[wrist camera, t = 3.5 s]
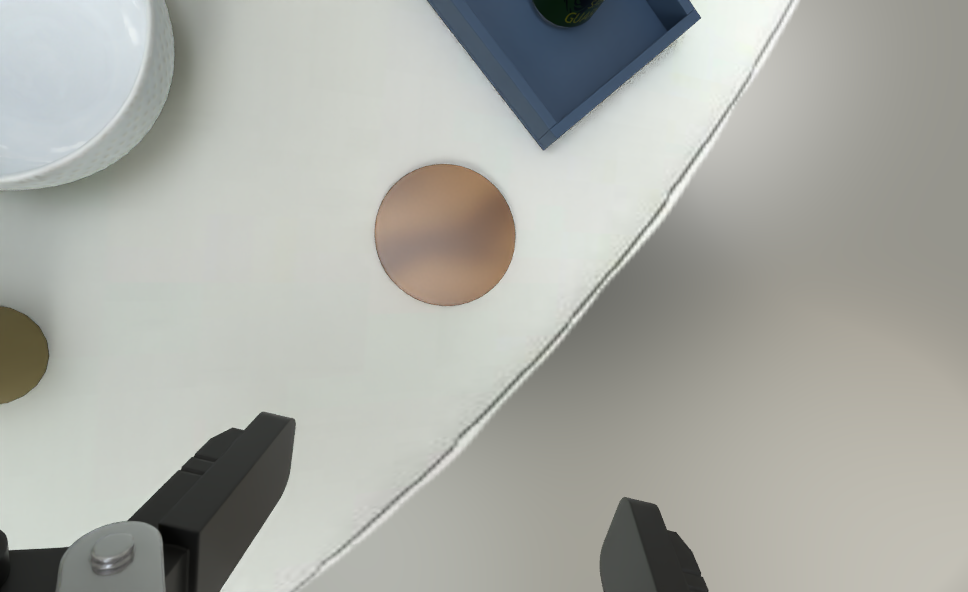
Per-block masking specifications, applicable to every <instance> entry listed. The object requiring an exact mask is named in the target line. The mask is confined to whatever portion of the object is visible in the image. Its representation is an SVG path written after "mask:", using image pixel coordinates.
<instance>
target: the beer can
mask: <svg viewBox="0 0 968 592" xmlns="http://www.w3.org/2000/svg"><path fill="white" fill-rule="evenodd" d="M603 1H604V0H532V3H533V6H534V8H535V10H536V11H537V13H538V15H539V16H540V17H541V18H542V19H543V20H544V21H545V22H547V23H549V24H551V25H552V26H554V27H559V28H570V27H576V26H579V25H581V24H583V23H585V22H586V21H588V20H589V19H590V18H591V17H592V15H593V14H594V13H595V12H596V11H597V9H598V8H599V7H600V5H601V4H602V3H603Z"/></svg>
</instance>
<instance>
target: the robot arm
mask: <svg viewBox="0 0 968 592" xmlns="http://www.w3.org/2000/svg"><path fill="white" fill-rule="evenodd" d="M295 426H296V423H295V419H293V418H289V417H284V416H280V415H276V414H272V413H267V412H261V413H260V414H259V415H258V416H257V417H256V418H255V419H254V420H253V421H252V422H251V423H250V424H249V426H248V427H247V428H246V429H245V430H241V429H236V428H231V429H229V430H227V431H225V432H223V433H221V434H219V435H217V436H215V437H213V438H211V439H210V440H209V441H208V442H207V443H206V444H205V445H204V446H203V447H202V448H201V449H200V450H199V451H198V452H197V453H196V454H195V456H194V457H191V458H190V459H189V460H188V461H187V462H186V463H185V464H184V465H183V466H182V469H181V470H178V471H177V472H176V473H175V474H174V475H173V476H172V477H171V478H170V479H169V480H168V481H167V482H166V483H165V484H164V485H163V486H162V487H161V488H160V489H159V490H158V491H157V492H156V493H155V494H154V495H153V496H152V497H151V498H150V499H149V500H148V501H147V502H146V503H145V504H144V505H143V506H142V507H141V508H140V509H139V510H138V511H137V512H136V513H135V514H134V515H133V516H132V517H131V518H130V519H129V520H128V521H122V522H116V523H112V524H108V525H105V526H102V527H100V528H97V529H95V530H93V531H91V532H89V533H87V534H85V535H84V536H82V537H81V538H79V539H78V540H77V541H75V542H74V543H73V544H72V545H71V546H70V547H63V548H47V549H27V550H8V541H7V537H6V535H5V533H3V532H2V531H1V530H0V592H219V591H220V590H221V588H222V587H223V585H224V584H225V582H226V581H227V579H228V578H229V576H230V575H231V573H232V571H233V570H234V568H235V567H236V565H237V564H238V562H239V561H240V559H241V558H242V556H243V555H244V553H245V552H246V550H247V548H248V547H249V545H250V544H251V542H252V541H253V539H254V538H255V536H256V535H257V533H258V532H259V530H260V529H261V527H262V526H263V524H264V522H265V521H266V519H267V518H268V516H269V515H270V513H271V512H272V510H273V509H274V507H275V506H276V504H277V503H278V501H279V499H280V498H281V496H282V494H283V492H284V490H285V487H286V485H287V482H288V478H289V474H290V468H291V460H292V452H293V444H294V435H295ZM600 576H601V581H602V586H603V591H604V592H708V588H707V586H706V583H705V581H704V579H703V577H701V572H700V569H699V567H698V564H697V562H696V560H695V558H694V555H693V553H692V551H691V550H690V549H689V548H688V546H687V545H686V544H685V543H684V542H683V540H682V539H681V538H680V536H679V535H678V534H677V533H676V532H672V531H669V530H667V529H666V526H665V524H664V521H663V518H662V516H661V513H660V511H659V508H658V507H657V505H655V504H652V503H648V502H644V501H639V500H635V499H631V498H626V497H624V498H622V499H621V501H620V503H619V505H618V507H617V510H616V513H615V515H614V517H613V520H612V523H611V525H610V528H609V530H608V533H607V535H606V538H605V540H604V543H603V546H602V550H601V555H600Z"/></svg>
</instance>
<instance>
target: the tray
mask: <svg viewBox="0 0 968 592" xmlns="http://www.w3.org/2000/svg"><path fill="white" fill-rule="evenodd" d="M427 1H428V2H429V3H430V4H431V6H432V7H433V8H434V10H435V11H436V12H437V13H438V15H439V16H440V17H441V19H442V20H443V21H444V23H445V24H446V25H447V26H448V28H449V29H450V30H451V32H452V33H453V34H454V35H455V37H456V38H457V39H458V41H459V42H460V43H461V45H462V46H463V47H464V48H465V50H466V51H467V52H468V54H469V55H470V56H471V57H472V59H473V60H474V61H475V63H476V64H477V65H478V67H479V68H480V69H481V70H482V72H483V73H484V74H485V76H486V77H487V78H488V79H489V81H490V82H491V83H492V85H493V86H494V87H495V89H496V90H497V91H498V92H499V94H500V95H501V96H502V98H503V99H504V100H505V101H506V103H507V104H508V105H509V107H510V108H511V109H512V111H513V112H514V113H515V114H516V116H517V117H518V118H519V120H520V121H521V122H522V123H523V125H524V126H525V127H526V129H527V130H528V131H529V133H530V134H531V135H532V136H533V138H534V139H535V140H536V142H537V143H538V144H539V145H540V147H541V148H542V149H543V150H545V149H546V148H547V147H548V146H549V145H551V144H552V143H553V142H554V141H555V140H557V139H558V138H559V137H560V136H561V135H563V134H564V133H565V132H566V131H567V130H569V129H570V128H571V127H572V126H573V125H575V124H576V123H577V122H578V121H579V120H580V119H582V118H583V117H584V116H585V115H586V114H588V113H589V112H590V111H591V110H592V109H594V108H595V107H596V106H597V105H598V104H600V103H601V102H602V101H603V100H604V99H606V98H607V97H608V96H609V95H610V94H611V93H613V92H614V91H615V90H616V89H617V88H619V87H620V86H621V85H622V84H623V83H625V82H626V81H627V80H628V79H629V78H631V77H632V76H633V75H634V74H635V73H636V72H638V71H639V70H640V69H641V68H642V67H644V66H645V65H646V64H647V63H648V62H650V61H651V60H652V59H653V58H654V57H656V56H657V55H658V54H659V53H660V52H662V51H663V50H664V49H665V48H666V47H667V46H669V45H670V44H671V43H672V42H673V41H675V40H676V39H677V38H678V37H679V36H681V35H682V34H683V33H684V32H685V31H686V30H688V29H689V28H690V27H691V26H692V25H694V24H695V23H696V22H697V21H698V20H699V19H701V17H700V15H699V14H698V13H697V11H696V10H695V8H694V7H693V5H692V4H691V2H690V1H689V0H604V1H603V3H602V4H601V5H600V7H599V8H598V9H597V11H596V12H595V13H594V14H593V15H592V17H591V18H590V19H589V20H588V21H586V22H585V23H583V24H581V25H579V26H576V27H570V28H559V27H554V26H552V25H551V24H549V23H547V22H545V21H544V20H543V19H542V18H541V17H540V16H539V15H538V13H537V11H536V10H535V8H534V6H533V3H532V0H427Z"/></svg>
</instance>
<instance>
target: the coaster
mask: <svg viewBox="0 0 968 592" xmlns="http://www.w3.org/2000/svg"><path fill="white" fill-rule="evenodd" d="M375 243H376V249H377V253H378V257H379V259H380V261H381V264H382V266H383V268H384V269H385V271H386V273H387V274H388V276H389V277H390V278H391V280H392V281H393V282H394V283H395V284H396V285H397V286H398V287H399V288H400V289H401V290H403V291H404V292H405V293H407V294H408V295H410V296H412V297H414V298H415V299H418V300H420V301H423V302H426V303H429V304H434V305H441V306H452V305H460V304H464V303H468V302H470V301H473V300H475V299H477V298H479V297H481V296H483V295H484V294H486V293H487V292H488V291H490V290H491V289H492V288H493V287H494V286H495V285H496V284H497V283H498V282H499V281H500V280H501V278H502V277H503V276H504V274H505V272H506V271H507V269H508V267H509V264H510V262H511V260H512V256H513V252H514V247H515V226H514V221H513V217H512V214H511V211H510V208H509V206H508V204H507V202H506V200H505V199H504V197H503V196H502V194H501V193H500V191H499V190H498V189H497V188H496V187H495V186H494V185H493V184H492V183H491V182H490V181H489V180H487V179H486V178H485V177H483V176H482V175H480V174H479V173H477V172H474V171H472V170H470V169H468V168H465V167H462V166H457V165H450V164H437V165H430V166H425V167H422V168H419V169H417V170H415V171H413V172H411V173H409V174H407V175H406V176H404V177H403V178H401V179H400V180H399V181H398V182H397V183H396V184H395V185H393V187H392V188H391V189H390V190H389V192H388V193H387V194H386V196H385V198H384V199H383V201H382V203H381V206H380V208H379V211H378V214H377V218H376V224H375Z"/></svg>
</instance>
